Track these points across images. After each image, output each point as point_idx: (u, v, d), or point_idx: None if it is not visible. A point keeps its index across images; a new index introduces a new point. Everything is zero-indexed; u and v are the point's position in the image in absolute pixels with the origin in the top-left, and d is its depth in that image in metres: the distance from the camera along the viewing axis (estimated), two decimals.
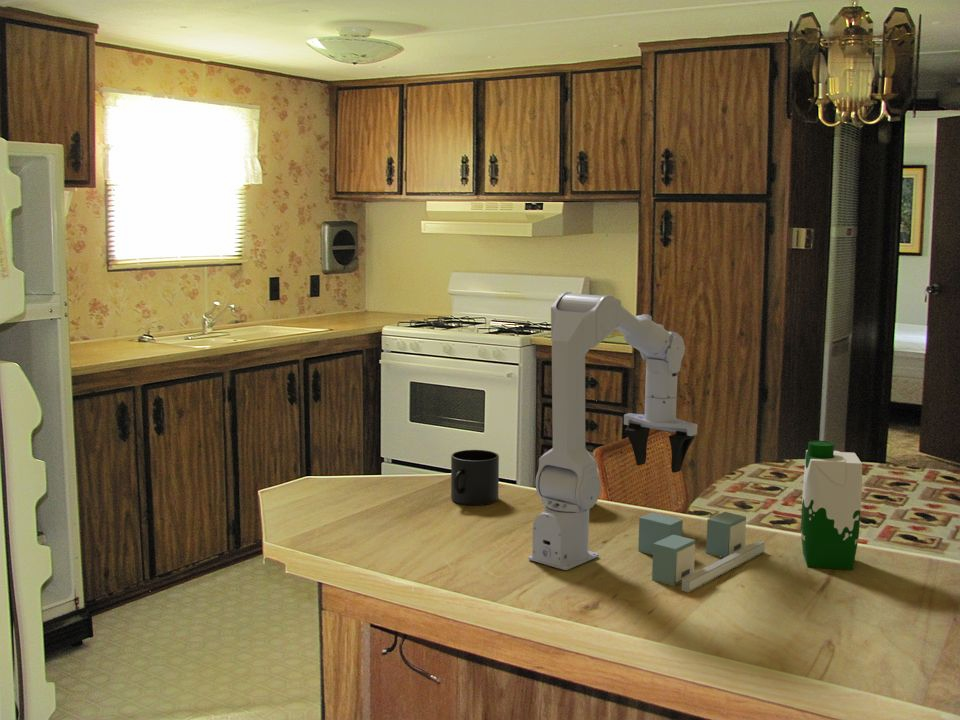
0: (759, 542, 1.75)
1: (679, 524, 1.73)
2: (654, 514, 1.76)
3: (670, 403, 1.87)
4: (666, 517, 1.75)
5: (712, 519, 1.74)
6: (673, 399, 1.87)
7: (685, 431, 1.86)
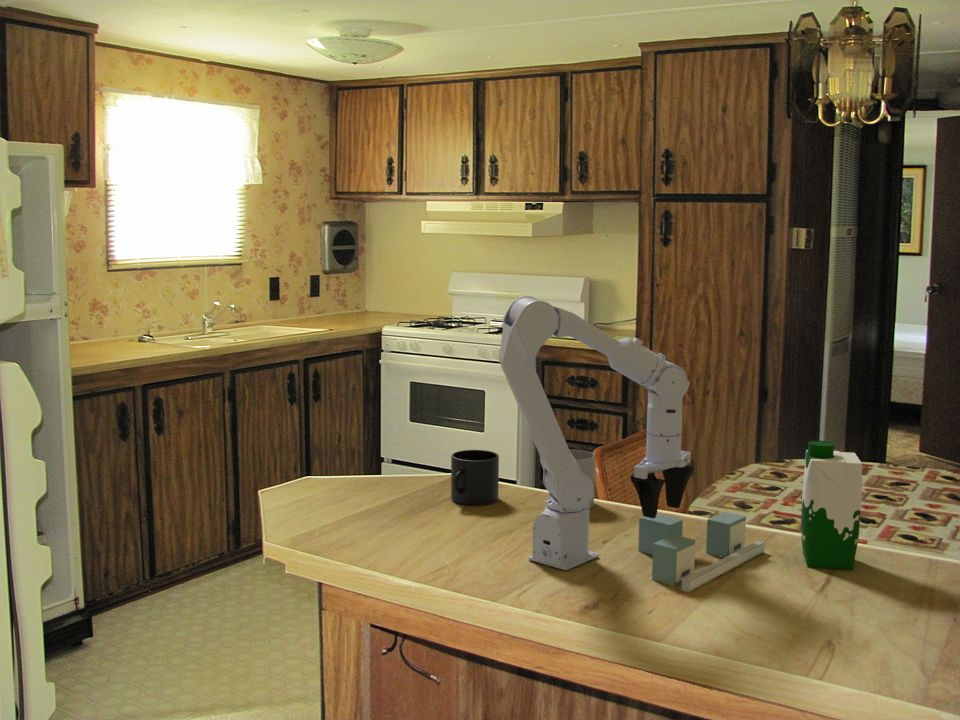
0: (759, 542, 1.75)
1: (679, 524, 1.73)
2: None
3: (650, 440, 1.71)
4: (666, 517, 1.75)
5: (712, 519, 1.74)
6: (653, 437, 1.70)
7: None
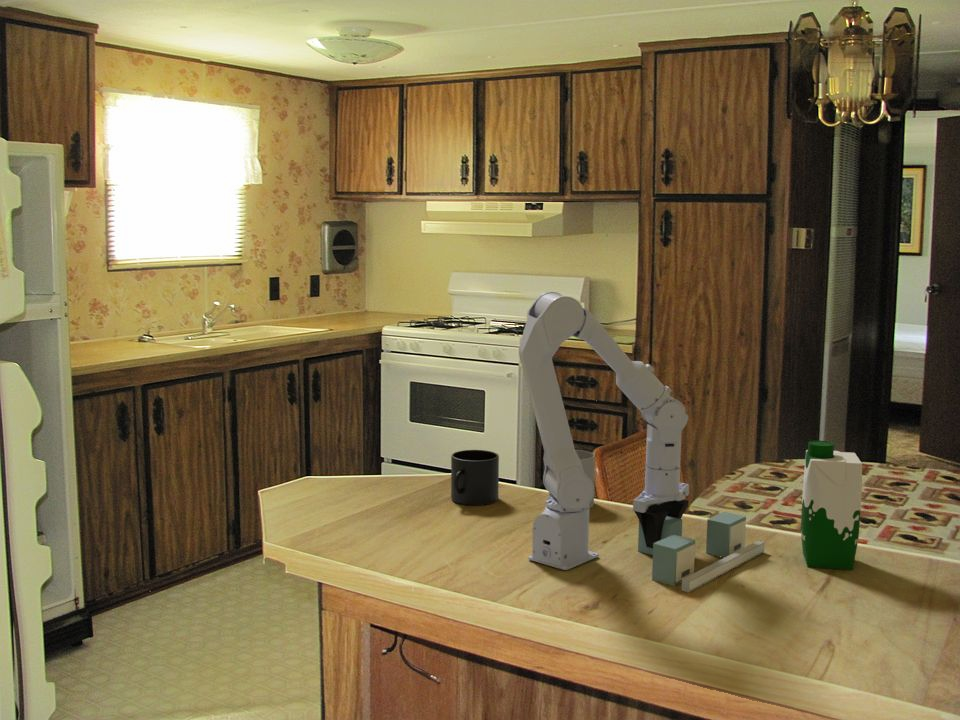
0: (759, 542, 1.75)
1: (679, 524, 1.73)
2: None
3: (649, 473, 1.72)
4: (666, 517, 1.75)
5: (712, 519, 1.74)
6: (652, 470, 1.71)
7: None
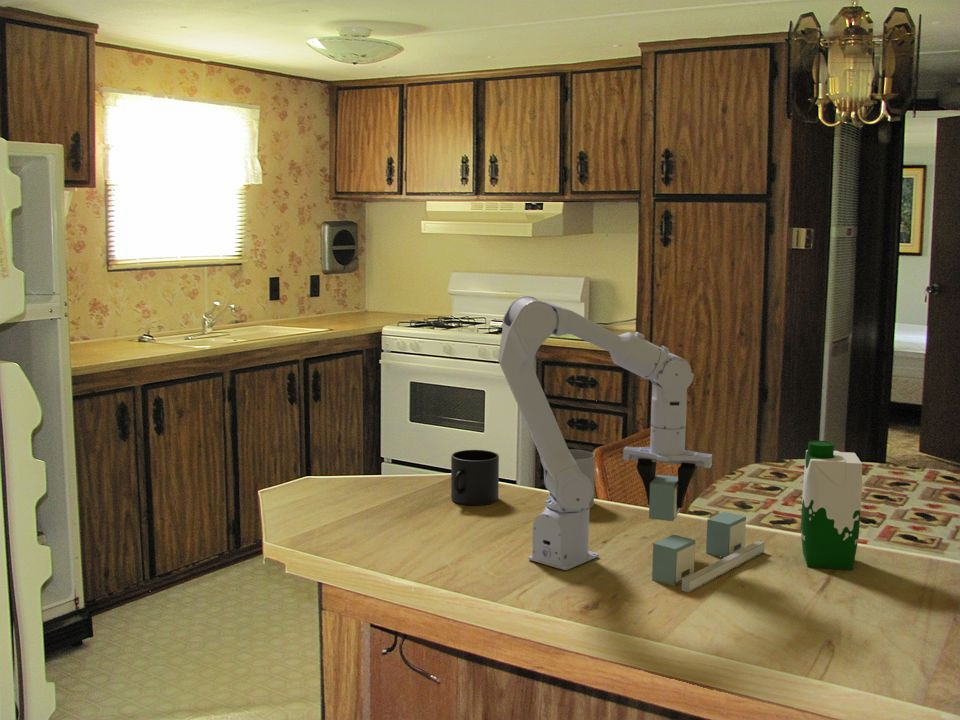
0: (759, 542, 1.75)
1: (667, 488, 1.69)
2: (675, 477, 1.74)
3: None
4: (672, 481, 1.72)
5: (712, 519, 1.74)
6: (651, 425, 1.72)
7: None
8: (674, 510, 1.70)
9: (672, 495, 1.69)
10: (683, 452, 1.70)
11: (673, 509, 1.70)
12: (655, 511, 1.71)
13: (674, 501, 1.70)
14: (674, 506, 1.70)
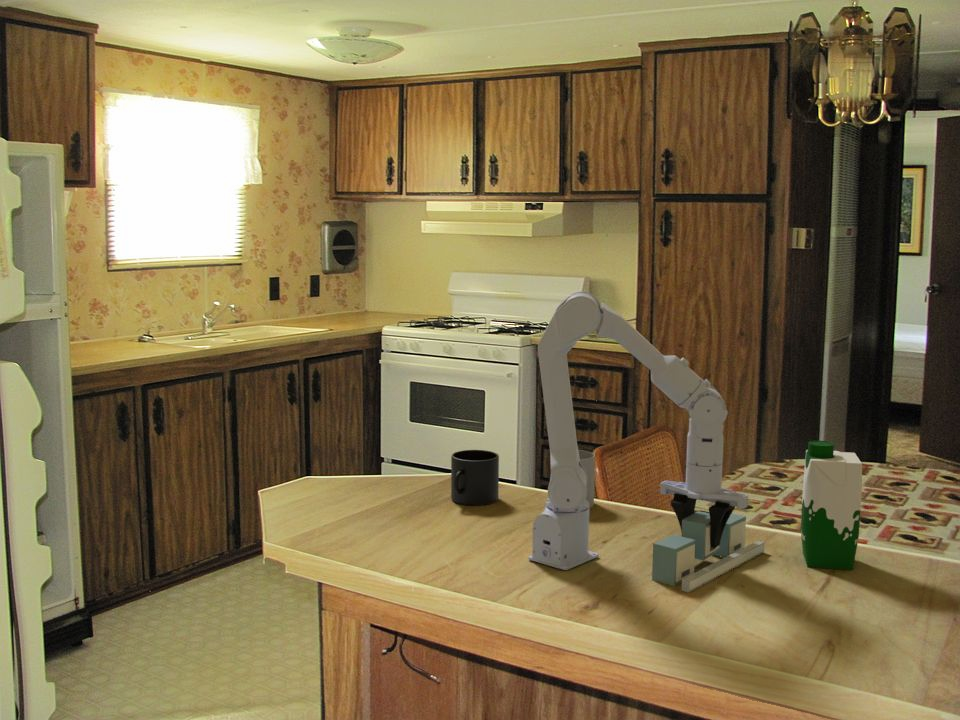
0: (759, 542, 1.75)
1: (699, 527, 1.65)
2: None
3: None
4: (707, 519, 1.67)
5: None
6: None
7: (672, 490, 1.71)
8: (705, 549, 1.66)
9: (703, 534, 1.65)
10: (717, 490, 1.65)
11: (704, 548, 1.65)
12: None
13: (705, 540, 1.65)
14: (705, 545, 1.65)
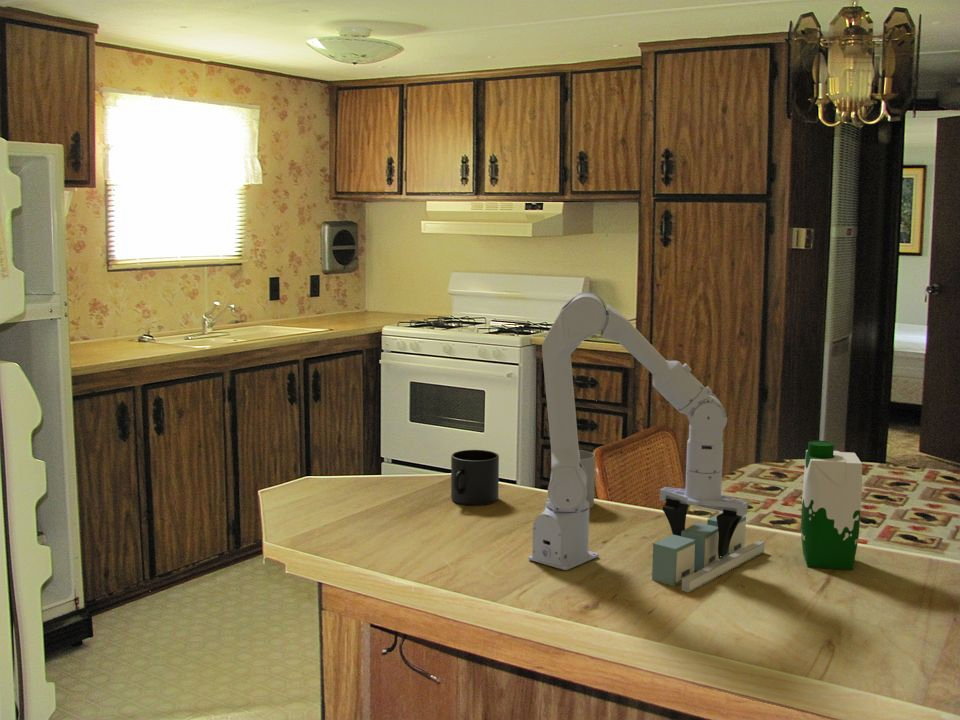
0: (759, 542, 1.75)
1: (698, 538, 1.66)
2: (713, 527, 1.69)
3: None
4: (706, 531, 1.68)
5: (712, 519, 1.74)
6: None
7: (672, 497, 1.71)
8: (705, 561, 1.66)
9: (702, 545, 1.65)
10: (717, 497, 1.66)
11: (703, 559, 1.66)
12: None
13: (704, 552, 1.66)
14: (704, 557, 1.66)
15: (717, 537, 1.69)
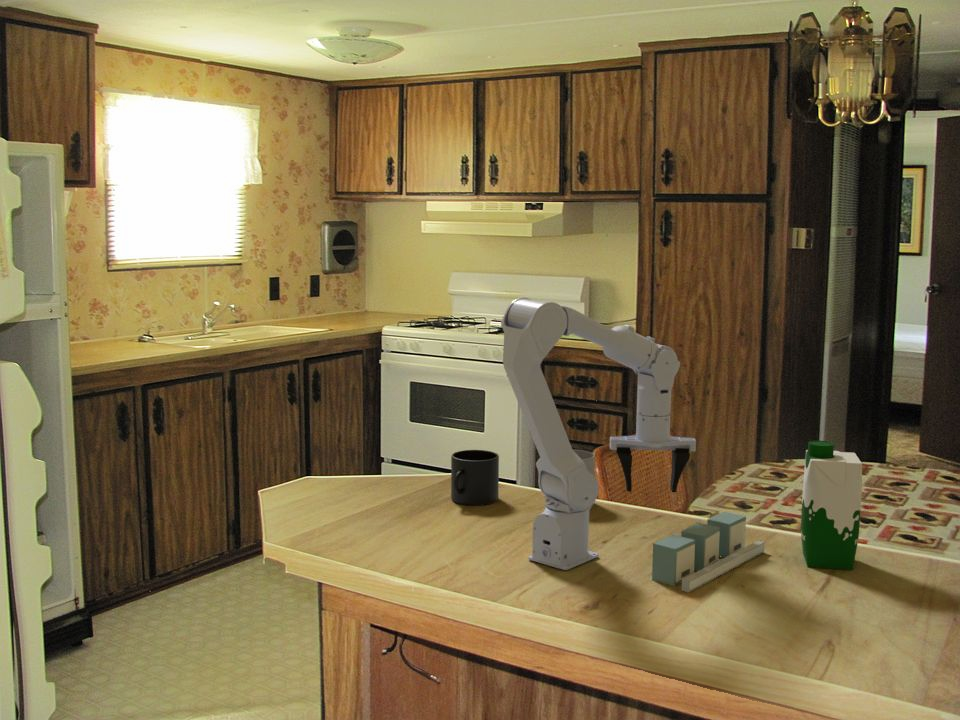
0: (759, 542, 1.75)
1: (698, 538, 1.66)
2: (713, 527, 1.69)
3: None
4: (706, 531, 1.68)
5: (712, 519, 1.74)
6: None
7: None
8: (705, 561, 1.66)
9: (702, 545, 1.65)
10: (669, 438, 1.76)
11: (703, 559, 1.66)
12: None
13: (704, 552, 1.66)
14: (705, 557, 1.66)
15: (717, 537, 1.69)
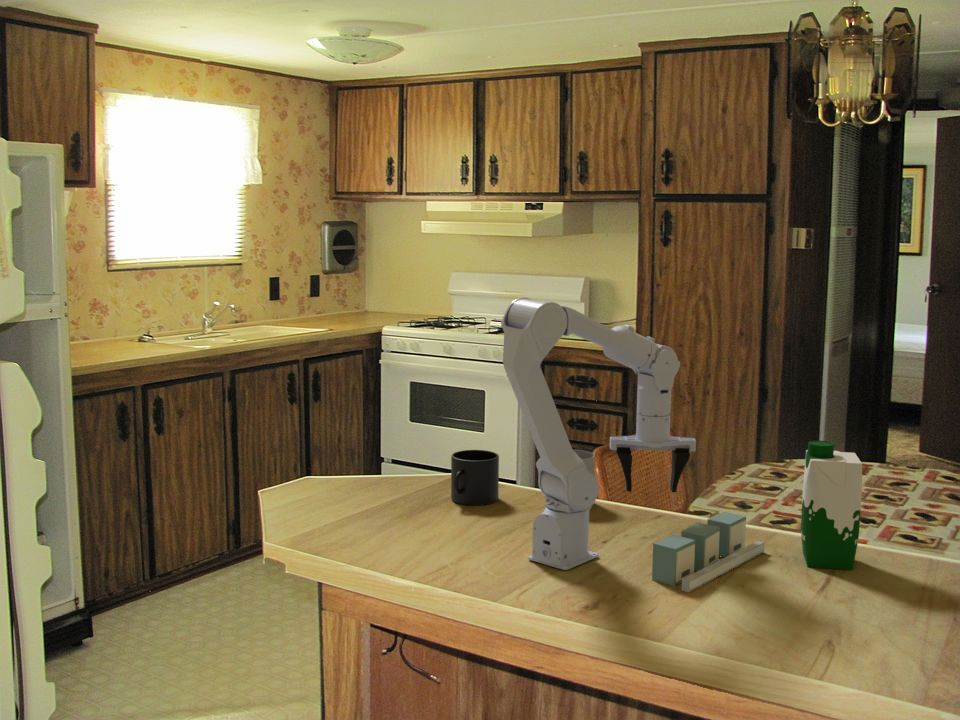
0: (759, 542, 1.75)
1: (698, 538, 1.66)
2: (713, 527, 1.69)
3: None
4: (706, 531, 1.68)
5: (712, 519, 1.74)
6: None
7: None
8: (705, 561, 1.66)
9: (702, 545, 1.65)
10: (669, 438, 1.76)
11: (703, 559, 1.66)
12: None
13: (704, 552, 1.66)
14: (704, 557, 1.66)
15: (717, 537, 1.69)
